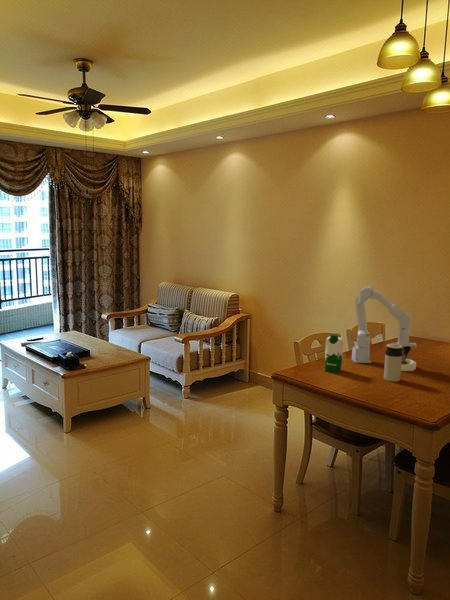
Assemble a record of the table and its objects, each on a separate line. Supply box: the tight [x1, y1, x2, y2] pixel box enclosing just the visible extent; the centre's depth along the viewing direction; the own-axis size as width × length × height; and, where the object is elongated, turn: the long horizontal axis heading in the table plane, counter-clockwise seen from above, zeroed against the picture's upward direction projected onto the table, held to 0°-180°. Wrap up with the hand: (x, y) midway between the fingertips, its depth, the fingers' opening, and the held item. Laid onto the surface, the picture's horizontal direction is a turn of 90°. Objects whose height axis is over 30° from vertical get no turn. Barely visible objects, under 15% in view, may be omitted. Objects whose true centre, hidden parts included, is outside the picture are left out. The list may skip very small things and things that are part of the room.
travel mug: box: [383, 343, 403, 383], centre depth 238 cm, size 8×8×18 cm
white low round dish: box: [401, 358, 417, 372], centre depth 262 cm, size 14×14×4 cm
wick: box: [401, 352, 407, 364], centre depth 261 cm, size 4×2×7 cm, turn 4°
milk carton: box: [324, 334, 344, 374], centre depth 252 cm, size 9×9×20 cm
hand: (402, 359), depth 261 cm, fingers open, 2 cm apart
